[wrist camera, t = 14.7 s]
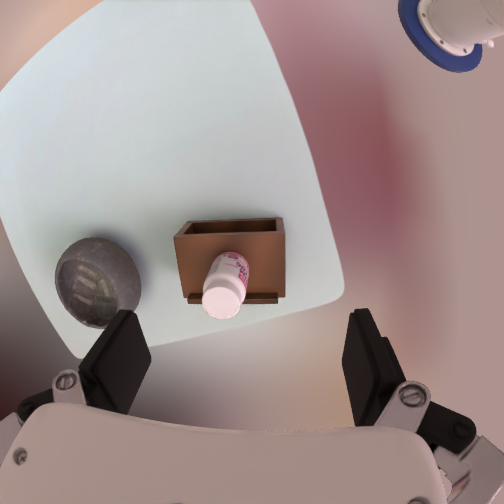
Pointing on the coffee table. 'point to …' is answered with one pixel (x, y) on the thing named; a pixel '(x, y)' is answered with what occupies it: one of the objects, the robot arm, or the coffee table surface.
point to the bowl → (97, 281)
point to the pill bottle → (225, 285)
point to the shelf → (238, 241)
